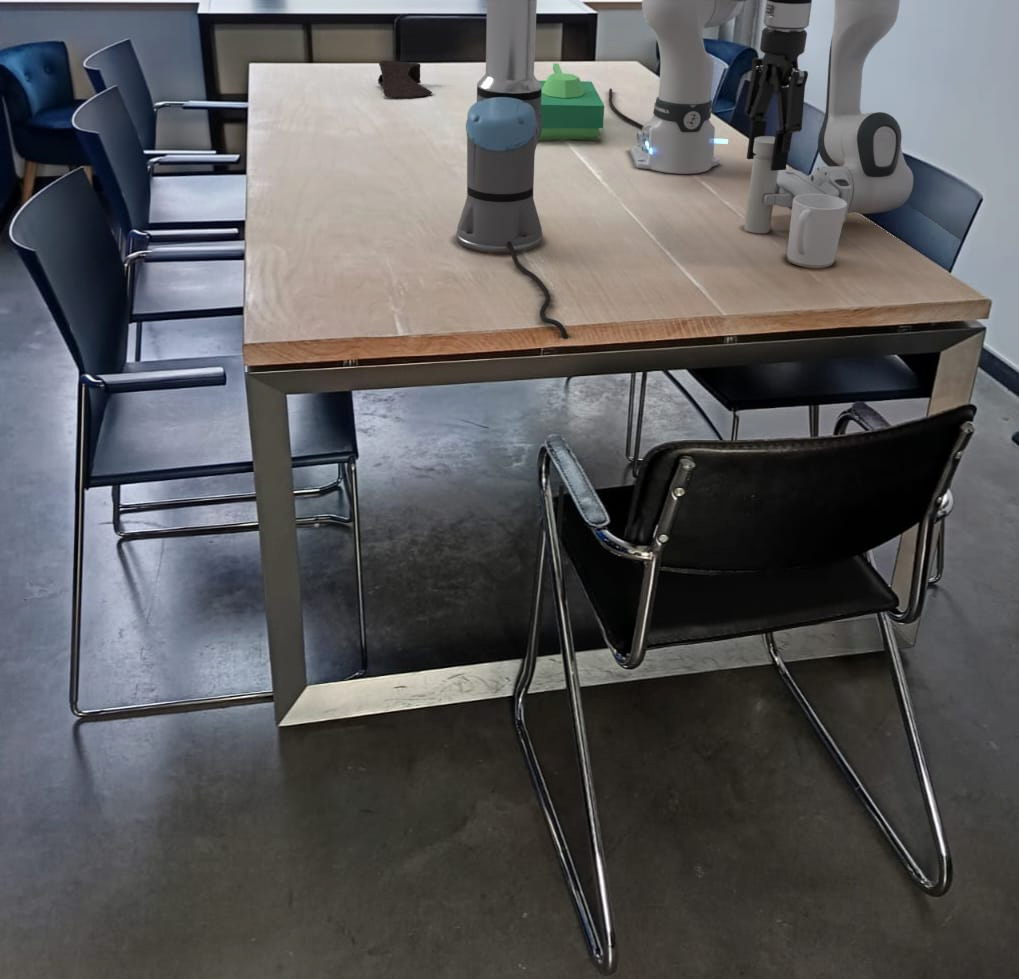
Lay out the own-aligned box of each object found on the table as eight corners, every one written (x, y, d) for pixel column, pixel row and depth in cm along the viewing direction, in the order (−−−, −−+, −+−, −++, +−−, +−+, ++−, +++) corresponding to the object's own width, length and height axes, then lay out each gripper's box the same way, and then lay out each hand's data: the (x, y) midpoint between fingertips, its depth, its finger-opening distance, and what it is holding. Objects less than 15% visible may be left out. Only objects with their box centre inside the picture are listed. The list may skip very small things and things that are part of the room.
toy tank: (589, 59, 279) (605, 88, 249) (586, 109, 285) (601, 143, 256) (520, 58, 278) (528, 87, 248) (518, 108, 284) (526, 142, 255)
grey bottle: (747, 233, 202) (758, 148, 194) (741, 225, 206) (752, 141, 198) (772, 233, 202) (784, 148, 194) (766, 225, 206) (778, 141, 198)
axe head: (443, 87, 294) (392, 77, 287) (436, 115, 299) (385, 106, 292) (421, 62, 307) (371, 52, 300) (414, 89, 311) (365, 80, 304)
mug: (798, 248, 195) (807, 190, 190) (845, 259, 190) (856, 201, 185) (769, 263, 188) (777, 204, 182) (816, 276, 183) (827, 215, 178)
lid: (769, 158, 194) (771, 144, 192) (746, 151, 197) (748, 138, 196) (788, 153, 196) (790, 140, 195) (765, 147, 200) (767, 134, 199)
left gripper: (734, 19, 193) (719, 151, 205) (800, 39, 177) (779, 180, 189) (771, 18, 195) (753, 148, 207) (839, 37, 179) (815, 177, 191)
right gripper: (805, 159, 210) (737, 162, 207) (855, 190, 193) (782, 193, 190) (799, 192, 213) (733, 195, 211) (849, 224, 196) (777, 228, 194)
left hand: (765, 163), depth 198 cm, fingers open, 7 cm apart
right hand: (757, 194), depth 200 cm, fingers closed on grey bottle, 5 cm apart
